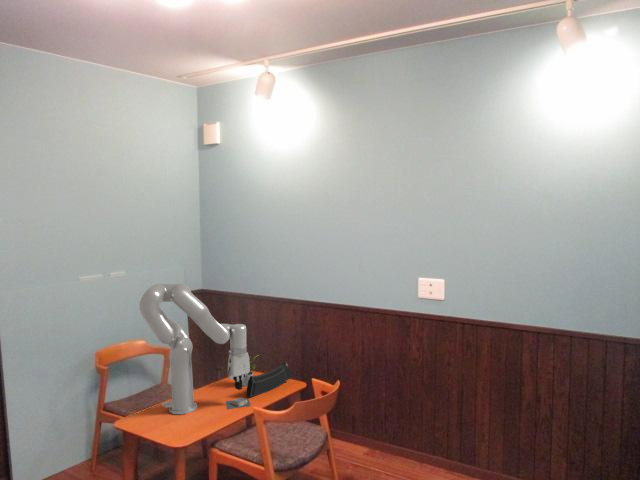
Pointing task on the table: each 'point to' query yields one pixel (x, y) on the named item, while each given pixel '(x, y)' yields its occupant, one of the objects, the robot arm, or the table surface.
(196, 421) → the table surface
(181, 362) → the robot arm
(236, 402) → the tile
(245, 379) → the house plant
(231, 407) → the mat
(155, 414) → the table surface
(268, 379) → the magazine
